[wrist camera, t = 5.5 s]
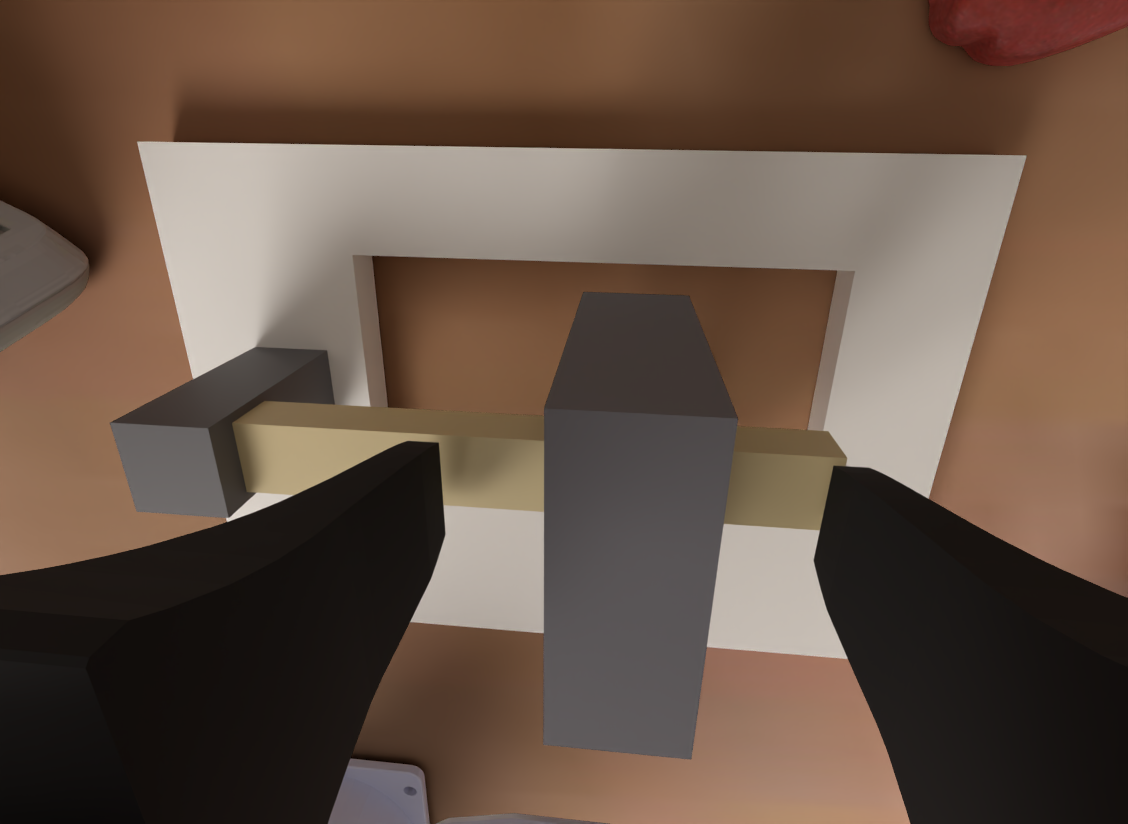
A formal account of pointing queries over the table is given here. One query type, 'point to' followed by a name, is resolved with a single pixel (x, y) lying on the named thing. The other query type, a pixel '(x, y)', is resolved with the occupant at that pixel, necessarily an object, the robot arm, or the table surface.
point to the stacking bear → (1023, 26)
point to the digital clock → (34, 274)
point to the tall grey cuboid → (632, 524)
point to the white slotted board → (564, 234)
